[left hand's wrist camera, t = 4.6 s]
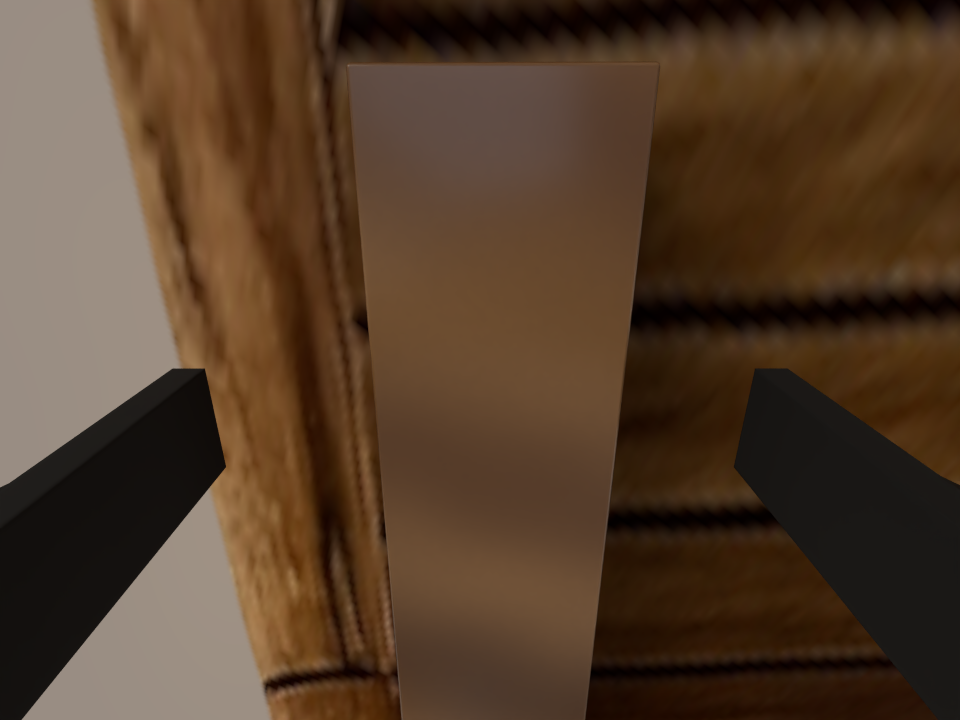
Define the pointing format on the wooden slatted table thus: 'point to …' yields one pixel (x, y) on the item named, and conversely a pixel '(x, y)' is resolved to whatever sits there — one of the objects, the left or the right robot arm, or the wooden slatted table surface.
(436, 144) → the bar
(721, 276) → the wooden slatted table surface
